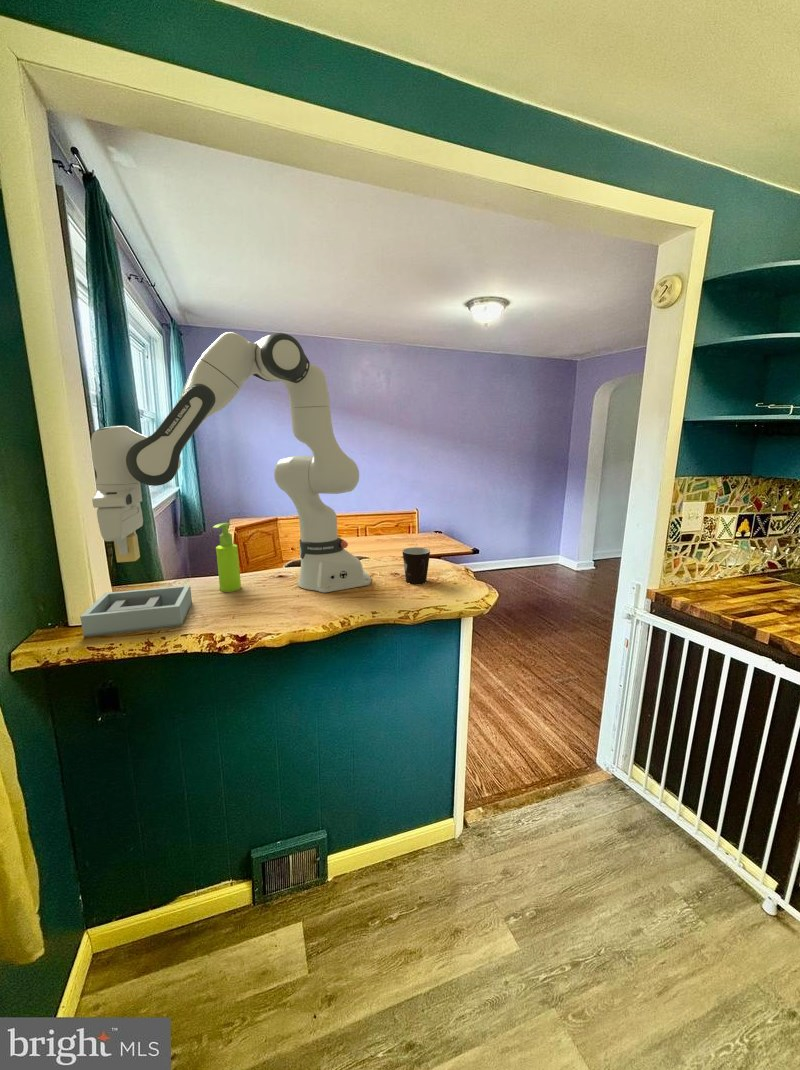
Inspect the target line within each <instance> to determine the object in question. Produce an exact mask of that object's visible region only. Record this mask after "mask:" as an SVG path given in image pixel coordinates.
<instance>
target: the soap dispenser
mask: <svg viewBox="0 0 800 1070" xmlns="http://www.w3.org/2000/svg"><path fill="white" fill-rule="evenodd" d="M229 526H231V522H221V523H218V524H215V525H213V526H212V529H221V534H219V542H220V543H219V544H220V545H217V546H215V552H216V562H217V571H218V573H217V574H218V583H219V590H220V591H221V592H226V593H229V592H234V591H235V592H236V591H238V590H241V588H242V584H241V573H240V559H239V550H238V545H237V544H235V543H234V541H233V534H232V533H230V532H229Z"/></svg>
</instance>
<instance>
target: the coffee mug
mask: <svg viewBox="0 0 800 1070" xmlns="http://www.w3.org/2000/svg"><path fill="white" fill-rule="evenodd" d="M430 554H431V550H430V549H428V548H426V547H417V546H416V547H407V548H403V549H402V559H403V567H404V577H405V582H407V583H406V584H408V583H410V584H409V585H412V584H421V585H424V584H426V583H427V578H428V571H429V569H428V568H429V562H430ZM425 582H426V583H425ZM423 583H424V584H423Z"/></svg>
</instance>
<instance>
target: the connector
mask: <svg viewBox="0 0 800 1070" xmlns="http://www.w3.org/2000/svg"><path fill="white" fill-rule="evenodd" d="M126 541H127V545H128V546H129V553H128V554H126V555H120V554H119V549H118V546H117V544H116V542H115V541H113V544H114V545H113V546H114V551H115V559H116V563H126V562H129V563H130V562H137V560H139V559H140V558H141V554H140V553H141V552H140V546H139V539H138V534H137V533H136V534H129V535H128V536H127V540H126Z"/></svg>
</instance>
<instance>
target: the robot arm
mask: <svg viewBox="0 0 800 1070" xmlns="http://www.w3.org/2000/svg"><path fill="white" fill-rule="evenodd" d="M251 376H254V377H256V378H258V379H260V380H262V381H266V382H282V383H283V384H284V386H285V387H286V389H287V393H288V395H289V397H288V398H289V408H290V409H289V410H290V416H291V419H290V420H291V428H292V433H293V436H294V437H295V438H296V439H297V440H298V441H299V442H300V443H303V444H305V445H306V446H307V447H308V448H309V450H310V451H311V453H312V455H293V456H289V457H288V456H287V457H285V458H281V459H279V460H278V462H277V463H276V465H275V468H274V471H273V477H274V480H275V483H276V485H277V486H278V487H279V489H280V490H282V491H283V492H284V493H285V494H286V495H287V496H288V497H289V498H290V499H291V501H292V503H293V506H294V507H295V509H296V512H297V516H298V520H299V521H298V523H299V530H300V531H299V532H300V539H299V544H298V545H299V547H298V548H299V557H300V570H299V572H300V573H299V577H298V582H297V586H298V587H300V588H302V589H305V590H309V591H316V592H320V593H329V592H330V593H331V592H336V591H342V590H348V589H352V588H353V589H354V588H358V587H365V586H368V585H370V584H371V583H372V581H371V579H372V578H371V576H370V574H368V572H366V571H364V567H363V564H362V562H361V560H360V559H359V558H357V556H355V555H354V554H353V553H350V552H349V551H348V550H347V549H346V548H348V546H349V543H348V542H347V540H344V539H342V538H341V537H339V536H338V517H337V513H336V512H335V510H334V509H333V508H332V507H331V506H329V505H327V504H325V503H324V502H323V501H322V499H321V497H320V495H319V494H326V495H327V494H328V495H329V494H330V495H334V494H335V495H339V494H345V493H350V492H353V490H355V488H357V486H358V483H359V482H360V480H359V479H360V471H359V467H358V465H357V463H356V462H355V461H354V460H353V459H352V458H351V457H349V456H348V455H347V454H346V453H345V452H344V451H343V450H342V448H341V446H340V445H339V444H338V441H337V439H336V437H335V434H334V428H333V422H332V414H331V413H332V412H331V403H330V402H331V401H330V394H329V389H328V384H327V383H328V382H327V379H326V376H325V373H324V370H323V369H322V368H321V367H319V366H318V365H315V364H313V363H310V360H309V358H308V357H307V355H306V354H305V352H304V349H303V347H302V345H301V344H300V342H299V341H298V340H297V339H296V338H295V337H294V336H292V335H290V334H288V333H285V332H275V333H272V334H269V335H266V336H264V337H261V338H260V339H259V340H257V341H255V342H250V341H248V339H247V338H245V337H244V336H243V335H241V334H238V333H235V332H231V331H229V332H228V331H227V332H224V333H222V334H221V335H220V336H219V337H218V338H217V339H215V341H213V343H211V345H209V346H208V348H206V350H205V351H203V353H202V354H201V356H200V357H199V358H198V360H197V361H196V363H195V364H194V366H193V367H192V369H191V371H190V373H189V375H188V376H187V379H186V381H185V385H184V387H183V389H182V392H181V394H180V396H179V399H178V400H177V402H176V404H175V405H174V407H173V408H172V409H171V411H170V412H169V413H168V415H167V416H166V417H165V418H164V420H163V421H162V422H161V424H160V425H159V427H158V428H157V429H156V430H155V431H154V432H153V433H152V434H150V435H149V436H147V435H144V434H142V433H140V432H137V431H135V430H134V429H132V428H131V427H129V426H128V425H112V426H106V427H102V428H98V429H96V430H95V431H94V432H93V433H92V435H91V439H90V440H91V441H90V443H91V445H90V446H91V447H90V448H91V460H92V466H93V468H94V470H95V473H96V479H95V487H96V491H95V494H94V496H93V498H92V507H93V508H94V509H96V517H97V522H98V527H99V532H100V535H101V537H102V539H103V540H104V542H114V541H115V542H116V544H117V546H118V549H119V554H120V555H126V554H128V553H129V546H128V545H127V541H126V540H127V536H128V535H129V534H137V532H136V530H138V529H140V528H141V527H143V525H144V518H143V511H142V506H141V503H142V502H143V497H142V489H141V488H142V487H141V484H143V485H147V486H151V487H152V486H153V487H157V486H158V487H159V486H163V485H166V484H167V483H169V482H171V481H172V479H174V478H175V476H176V474H177V473H178V471H179V470H180V468H181V465H182V464H181V462H182V460H181V454H182V451H183V450H184V447H185V446H186V445H187V443H188V442H189V441H190V439H191V437H192V436H193V435H194V434H195V433H196V431H197V429H198V428H199V427H200V426H201V424H202V423H203V422H204V421H205V420H206V419H208V418H209V417H210V416H212V415H213V414H215V413H217V412H219V411H221V410H223V409H224V408H225V407H226V406H227V405H228V404H229V403H230V402H231V401H232V400H233V399H234V398H235V397H236V396H237V394H238V392H239V391H240V390H241V389H242V387H243V386H244V384H245V382H246V381H247V380H248V379H249V378H250V377H251Z"/></svg>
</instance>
